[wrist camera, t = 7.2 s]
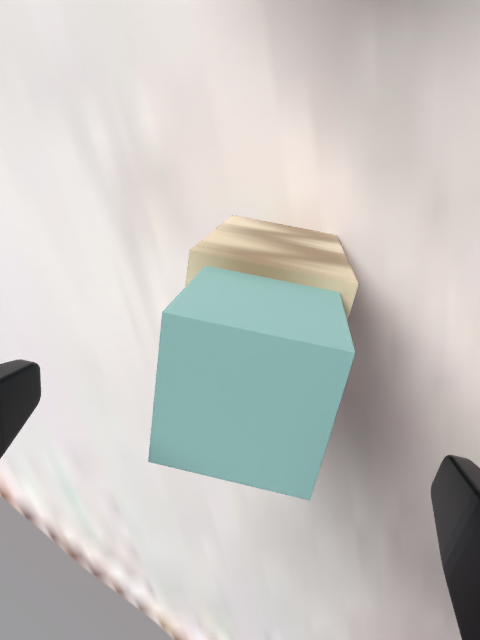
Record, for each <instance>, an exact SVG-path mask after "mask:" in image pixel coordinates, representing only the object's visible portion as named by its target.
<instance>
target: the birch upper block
mask: <svg viewBox="0 0 480 640" xmlns="http://www.w3.org/2000/svg"><path fill="white" fill-rule="evenodd" d="M205 265H206V266H211V267H216V268H221V269H226V270H231V271H236V272H241V273H246V274H251V275H256V276H261V277H266V278H271V279H276V280H281V281H286V282H291V283H296V284H301V285H306V286H311V287H316V288H321V289H326V290H331V291H336V292H339V293H340V296H341V300H342V304H343V308H344V312H345V315H346V319H347V322H348V319H349V315H350V312H351V308H352V305H353V302H354V298H355V295H356V291H357V288H358V285H359V284H358V282H357V279H356V277H355V275H354V272H353V270H352V268H351V265H350V263H349V261H348V258H347V256H346V254H344V253H339V252H334V251H329V250H323V249H318V248H313V247H308V246H303V245H298V244H293V243H288V242H283V241H278V240H273V239H268V238H263V237H258V236H253V235H247V234H242V233H237V232H232V231H227V230H222V229H215V230H214V231H213V232H212V233H210V234H209V235H208V236H207V237H205V238H204V239H203V240H202V241H200V242H199V243H198V244H197V245H195V246H194V247H193V248H192V249H190V251H189V260H188V268H187V276H186V285H185V287H186V286H187V285H188V284H189V283H190V282H191V281H192V280H193V278H194V277H195V276H196V275H197V274H198V273H199V272H200V271H201V270H202V269H203V268H204V267H205Z"/></svg>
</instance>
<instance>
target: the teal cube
mask: <svg viewBox="0 0 480 640" xmlns="http://www.w3.org/2000/svg"><path fill="white" fill-rule="evenodd" d="M354 356H355V349H354V346H353V342H352V338H351V334H350V330H349V327H348V323H347V319H346V315H345V312H344V308H343V304H342V300H341V296H340V293H339V292H336V291H331V290H326V289H321V288H316V287H311V286H306V285H301V284H296V283H291V282H286V281H281V280H276V279H271V278H266V277H261V276H256V275H251V274H246V273H241V272H236V271H231V270H226V269H221V268H216V267H211V266H206V265H205V267H204V268H203V269H202V270H201V271H200V272H199V273H198V274H197V275H196V276H195V277H194V278H193V280H192V281H191V282H190V283H189V284H188V285H187V286H186V287H185V288H184V289H183V290H182V291H181V293H180V294H179V295H178V296H177V297H176V298H175V299H174V300H173V301H172V302H171V303H170V304H169V305H168V307H167V308H166V309H165V310H164V311H163V312H162V321H161V332H160V342H159V353H158V364H157V374H156V385H155V396H154V406H153V417H152V428H151V438H150V449H149V460H148V462H152V463H156V464H160V465H164V466H168V467H173V468H177V469H181V470H185V471H189V472H193V473H198V474H202V475H206V476H210V477H214V478H219V479H223V480H227V481H231V482H235V483H240V484H244V485H248V486H252V487H256V488H260V489H265V490H269V491H273V492H277V493H281V494H286V495H290V496H294V497H298V498H302V499H306V500H310V498H311V495H312V492H313V488H314V485H315V482H316V479H317V476H318V472H319V469H320V466H321V463H322V459H323V456H324V453H325V450H326V446H327V443H328V440H329V437H330V433H331V430H332V427H333V424H334V420H335V417H336V414H337V411H338V407H339V404H340V401H341V398H342V394H343V391H344V388H345V385H346V382H347V378H348V375H349V372H350V369H351V365H352V362H353V359H354Z"/></svg>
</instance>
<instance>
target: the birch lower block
mask: <svg viewBox="0 0 480 640" xmlns="http://www.w3.org/2000/svg"><path fill="white" fill-rule="evenodd" d="M216 229H222V230H227V231H232V232H237V233H242V234H247V235H253V236H258V237H263V238H268V239H273V240H278V241H283V242H288V243H293V244H298V245H303V246H308V247H313V248H318V249H323V250H329V251H334V252H339V253H344V251H343V249H342V246H341V244H340V241H339V239H338V237H337V235H334V234H328V233H323V232H318V231H313V230H307V229H302V228H297V227H292V226H287V225H281V224H276V223H271V222H266V221H261V220H255V219H250V218H245V217H240V216H234V215H232V216H231V217H230V218H228V219H227V220H226V221H225V222H223V223H222V224H221V225H219V226H218V227H217V228H216ZM344 254H345V253H344Z"/></svg>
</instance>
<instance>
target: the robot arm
mask: <svg viewBox="0 0 480 640" xmlns="http://www.w3.org/2000/svg"><path fill="white" fill-rule="evenodd" d="M40 397H41V380H40V367H39V365H38V364H37V363H35V362H30V361H26V360H15V361H11V362H7V363H2V364H0V458H1V457H2V456H3V454H4V453H5V452H6V450H7V449H8V447H9V446H10V444H11V443H12V441H13V440H14V439H15V437H16V436H17V434H18V433H19V431H20V430H21V428H22V427H23V425H24V424H25V423H26V421H27V420H28V418H29V417H30V415H31V414H32V412H33V411H34V409H35V408H36V407H37V405H38V403H39V401H40ZM431 499H432V505H433V511H434V518H435V524H436V530H437V536H438V542H439V549H440V555H441V560H442V565H443V570H444V574H445V578H446V582H447V586H448V589H449V593H450V597H451V601H452V604H453V608H454V612H455V615H456V619H457V623H458V626H459V630H460V634H461V637H462V640H480V468H479V467H478V466H477V465H475V464H474V463H473V462H472V461H471V460H469V459H467V458H463V457H458V456H454V455H447V456H446V457H445V458H444V459H443V461H442V463H441V465H440V467H439V470H438V472H437V474H436V476H435V478H434V481H433V483H432V486H431Z"/></svg>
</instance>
